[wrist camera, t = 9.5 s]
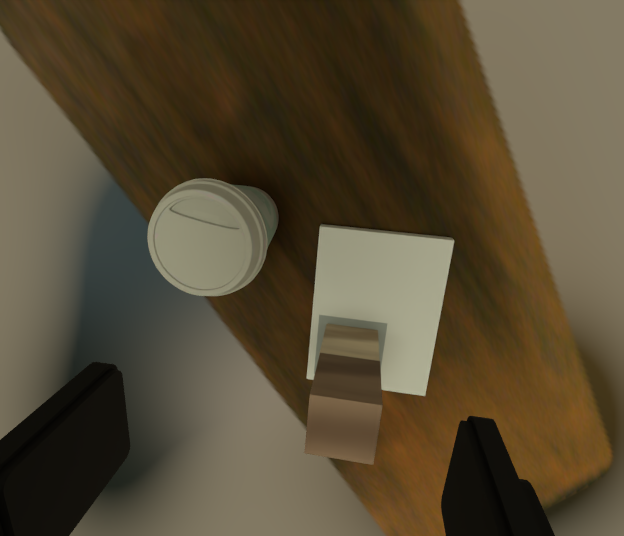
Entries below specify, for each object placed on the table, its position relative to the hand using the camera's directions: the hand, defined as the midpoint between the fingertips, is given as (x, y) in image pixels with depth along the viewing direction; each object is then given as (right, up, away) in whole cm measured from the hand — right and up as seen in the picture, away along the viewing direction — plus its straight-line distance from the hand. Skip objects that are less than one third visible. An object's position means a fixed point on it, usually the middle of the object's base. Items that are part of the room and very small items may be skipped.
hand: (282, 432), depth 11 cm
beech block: (+5, -4, +29) cm, 29 cm away
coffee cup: (-5, +9, +28) cm, 30 cm away
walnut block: (+4, -5, +23) cm, 24 cm away
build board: (+7, 0, +29) cm, 29 cm away
